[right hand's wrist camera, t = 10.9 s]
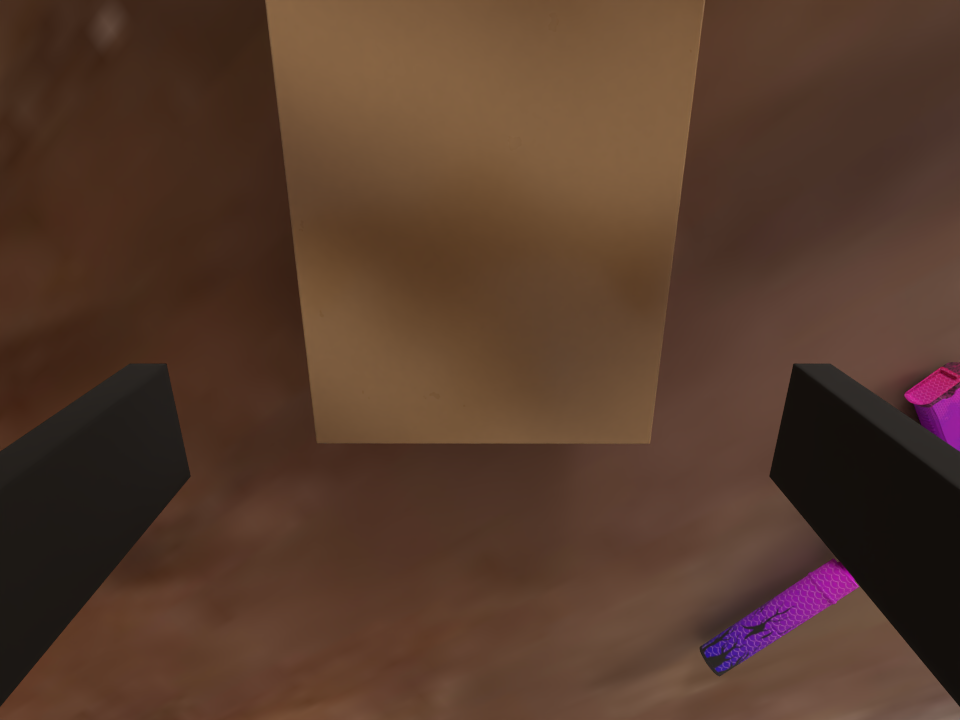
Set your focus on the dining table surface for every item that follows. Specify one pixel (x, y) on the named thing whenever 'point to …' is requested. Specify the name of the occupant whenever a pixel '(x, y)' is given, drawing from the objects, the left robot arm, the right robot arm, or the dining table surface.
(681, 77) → the wooden block
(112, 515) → the right robot arm
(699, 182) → the dining table surface
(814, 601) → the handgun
